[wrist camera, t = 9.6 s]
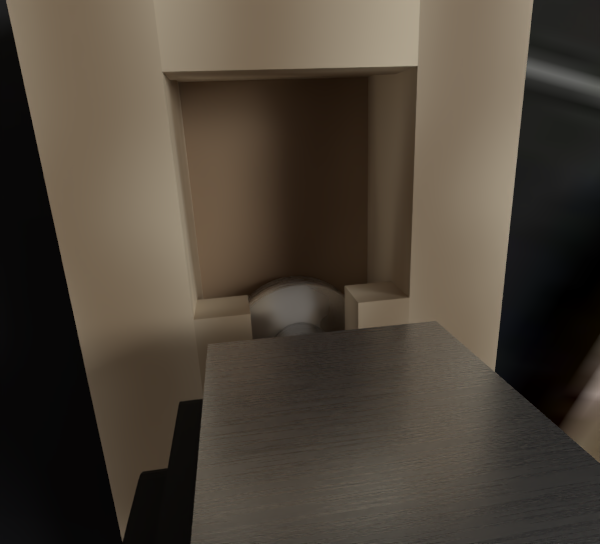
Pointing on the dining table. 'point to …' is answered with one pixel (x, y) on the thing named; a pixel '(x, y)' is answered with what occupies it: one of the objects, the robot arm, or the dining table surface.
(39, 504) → the dining table surface
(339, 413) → the stud
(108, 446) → the keyhole plate
